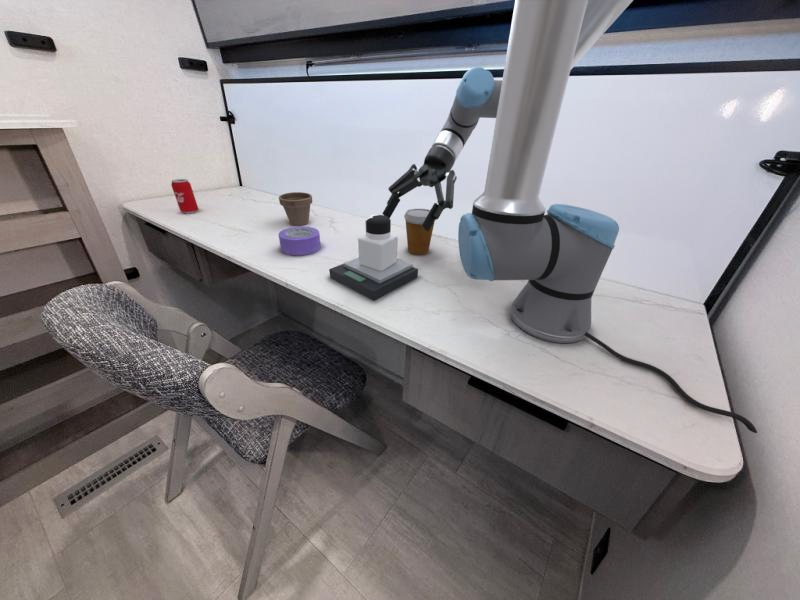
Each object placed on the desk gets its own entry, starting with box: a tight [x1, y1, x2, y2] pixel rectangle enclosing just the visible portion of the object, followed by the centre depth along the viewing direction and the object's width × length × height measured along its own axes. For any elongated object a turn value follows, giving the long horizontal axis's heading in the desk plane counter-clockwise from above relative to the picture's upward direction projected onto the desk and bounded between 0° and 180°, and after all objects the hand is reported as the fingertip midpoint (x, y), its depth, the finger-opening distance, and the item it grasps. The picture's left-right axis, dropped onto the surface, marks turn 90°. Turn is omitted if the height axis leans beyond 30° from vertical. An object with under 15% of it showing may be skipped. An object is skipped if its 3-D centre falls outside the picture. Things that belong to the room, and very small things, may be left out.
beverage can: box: [170, 178, 199, 214], centre depth 119 cm, size 6×6×12 cm
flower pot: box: [278, 191, 313, 227], centre depth 111 cm, size 12×11×10 cm
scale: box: [328, 256, 419, 302], centre depth 78 cm, size 16×16×4 cm
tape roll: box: [277, 225, 322, 256], centre depth 93 cm, size 12×12×5 cm
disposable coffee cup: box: [403, 208, 437, 256], centre depth 91 cm, size 10×10×12 cm
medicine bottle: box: [357, 214, 399, 271], centre depth 75 cm, size 7×7×12 cm
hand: (404, 222), depth 79 cm, fingers open, 13 cm apart
